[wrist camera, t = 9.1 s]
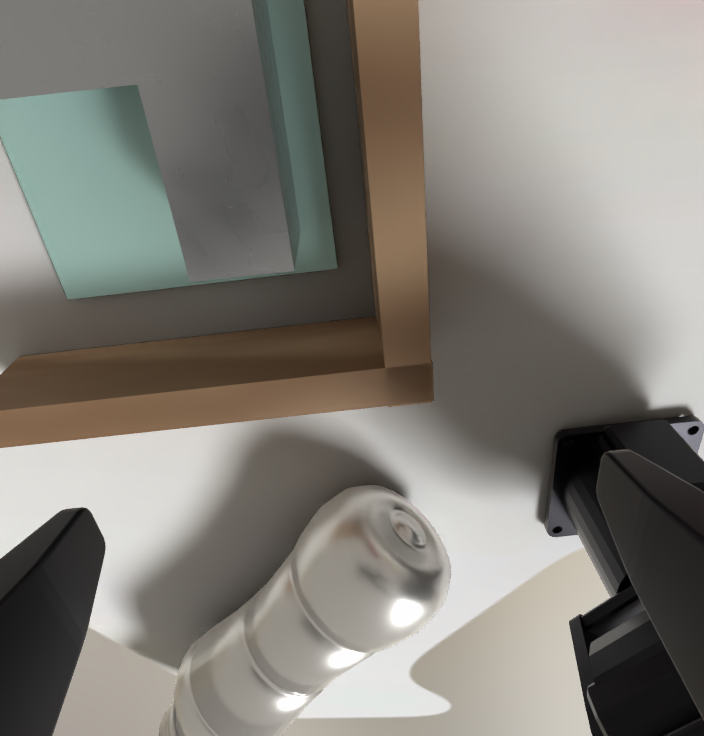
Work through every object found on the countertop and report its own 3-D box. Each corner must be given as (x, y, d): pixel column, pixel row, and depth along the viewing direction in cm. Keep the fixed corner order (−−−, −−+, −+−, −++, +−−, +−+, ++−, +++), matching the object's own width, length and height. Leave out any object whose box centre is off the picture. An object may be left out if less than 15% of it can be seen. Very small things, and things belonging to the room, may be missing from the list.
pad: (337, 264, 20) (337, 268, 19) (72, 295, 20) (67, 299, 20) (287, -132, 14) (286, -136, 14) (-82, -83, 14) (-92, -86, 14)
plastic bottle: (482, 549, 25) (260, 737, 33) (378, 446, 26) (188, 652, 34) (453, 635, 19) (191, 840, 27) (320, 498, 20) (106, 732, 28)
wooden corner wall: (417, 346, 22) (433, 401, 18) (35, 388, 22) (-20, 451, 18) (380, -385, 12) (401, -563, 8) (-298, -288, 12) (-542, -421, 9)
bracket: (258, -59, 14) (236, -94, 11) (301, 230, 19) (294, 271, 15) (-30, -26, 15) (-141, -51, 11) (75, 254, 19) (17, 299, 15)
